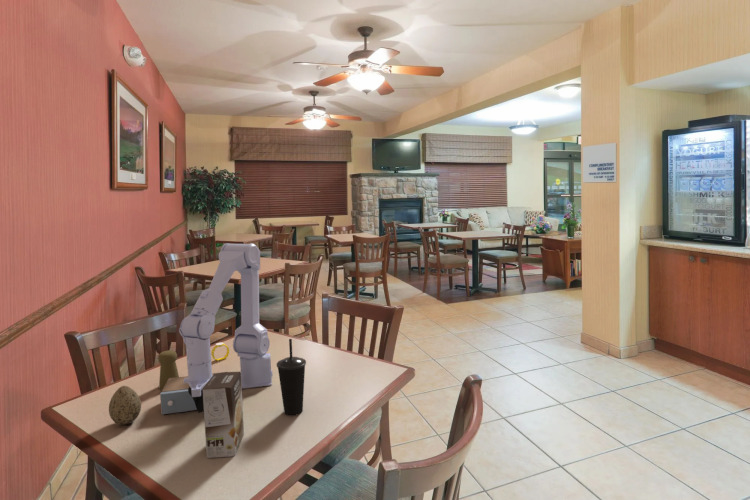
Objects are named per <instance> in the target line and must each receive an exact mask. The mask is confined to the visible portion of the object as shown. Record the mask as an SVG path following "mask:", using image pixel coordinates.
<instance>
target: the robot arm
mask: <svg viewBox="0 0 750 500" xmlns="http://www.w3.org/2000/svg"><path fill="white" fill-rule="evenodd" d="M218 260H219V263H218V266H217V267H216V271H215V273H214V275H213V278H212V280H211V282H210V284H209V287H208V288H206V289H204V290H202V291H201V293H200V295H199V297H198V298H197V300H196V303H195V304H194V306H193V308H192V310H191V312H190V314H189V315H187V316H185V317H184V318H183V319H182V320H181V322H180V326H179V328H178V331H179V334H180V336H181V337H182V340H183V344H185V350H186V364H187V365H186V366H187V376H188V377H187V378H184V380H183V382H184V383H188V384H189V386H190V387H189V389H188V392H189V394H190V395H191V397H192V398H193V400H194V402H195V405H196V408H197V410H196V411H197V413H198V414H202V413H204V405H203V390H202V388H203V387H204V386H205V385H206V383H207V382H208V381H209V380H210V379H211V377H212V376H213V375H212V373H213V366H212V349H211V338H210V337H211V336H212V334H213V333H214V331H215V323H216V322H215V321H216V314H217V313H218V311H219V309H220V308H221V304H222V303H223V300H224V298H223V295H222V293H223V291H224V290H225V288H226V286H227V285H228V282H229V281H230V279H231V278H232V276H233V274H234V273H235V272H236V271H237V272H238V273H239V274H240V301H241V302H240V312H241V313H240V315H241V316H240V318H241V320H240V321H241V325H240V326H239V327H237V328H236V329H235V331H234V337H233V340H232V349H233V351H234V353H236V354H237V357H239V364H240V365H239V367H240V368H239V369H240V372H241V387H242V389H243V390H244V389H249V388H250V389H251V388H260V387H266V386H267V387H268V386H272V384H273V381H272V377H273V370H272V359H271V352H268V351H269V349H270V339H269V336H268V329H267V328H266V327H265V326H263V325H262V324H261V323H260V270H261V250H260V249H259V248H258V246H257V245H256V244H255V243H229V242H227V243H224V244H223V245H222V246H221V248H220V251H219V253H218Z"/></svg>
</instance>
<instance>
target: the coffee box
mask: <svg viewBox="0 0 750 500" xmlns="http://www.w3.org/2000/svg"><path fill="white" fill-rule="evenodd" d="M213 373H214V375H213V376H212V377H211V379H210V380H209V381H208V382H207V383H206V385H205V386H204V387H203V388H202V390H203V405H204V412H203V416H204V417H203V418H204V433H205V434H204V435H205V449H206V451H205V452H206V458H207V459H211V458H213V459H214V458H228V457H235V456H236V454H237V451H238V449H239V447H240V445H241V442H242V440H243V438H244V435H245V427H244V423H245V422H244V410H243V408H244V407H243V392H242V391H243V390H242V387H241V371H223V373H221V372H213Z"/></svg>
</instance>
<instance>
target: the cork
mask: <svg viewBox="0 0 750 500" xmlns="http://www.w3.org/2000/svg"><path fill="white" fill-rule="evenodd" d="M177 359H178V354H177V352H176V351H175V350H172V349H171V350H165V351H161V352H160V353H159V354H158V357H157V360H158V362H159V364H160V368H159V385H158V388H159V389H158V390H161V391H162V390H163V388H164V386H165V385H166V383H167V381H168V379H169V378H176V377H180V374H179V372H178V371H179V370H178V366H177V362H176V361H177Z"/></svg>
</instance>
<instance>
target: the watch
mask: <svg viewBox="0 0 750 500" xmlns="http://www.w3.org/2000/svg"><path fill="white" fill-rule="evenodd" d="M223 346H224V347H225V349H226V353H225V355H224V356H222V357H220V358H216V356H215V351H216V349H217V348H220V347H223ZM229 355H230V348H229V347H228V345H227V344H225V342H217V343H215V345H214V346H213V348H212V349H211V358H212V359H214V360H216V361H218V362H219V361H222V360H226V359H227V358H228V357H229Z"/></svg>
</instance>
